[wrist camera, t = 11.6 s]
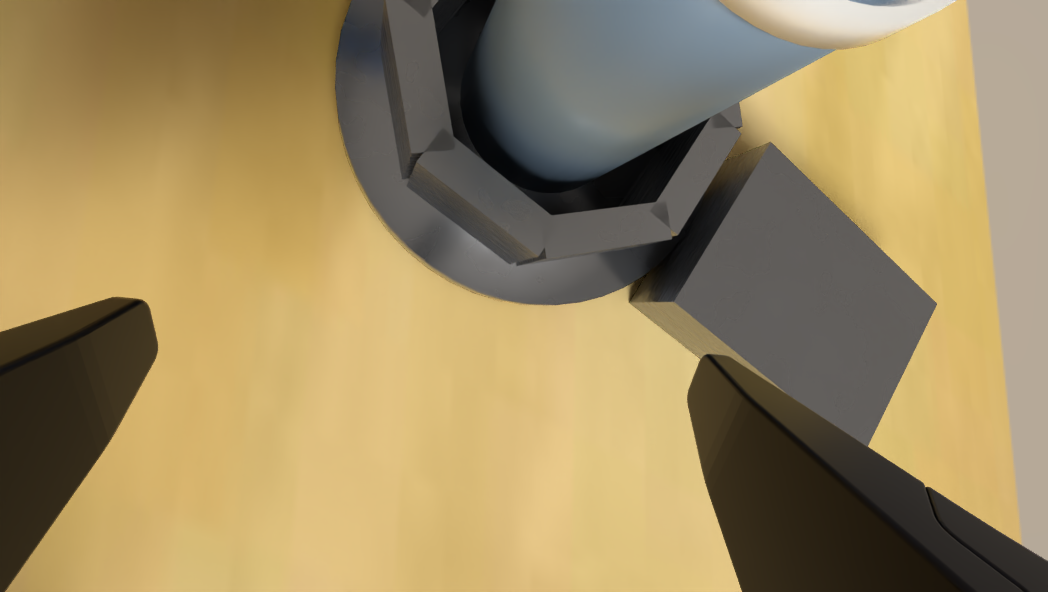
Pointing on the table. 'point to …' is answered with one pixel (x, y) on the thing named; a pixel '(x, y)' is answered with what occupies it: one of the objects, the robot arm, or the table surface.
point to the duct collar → (628, 224)
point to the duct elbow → (639, 72)
